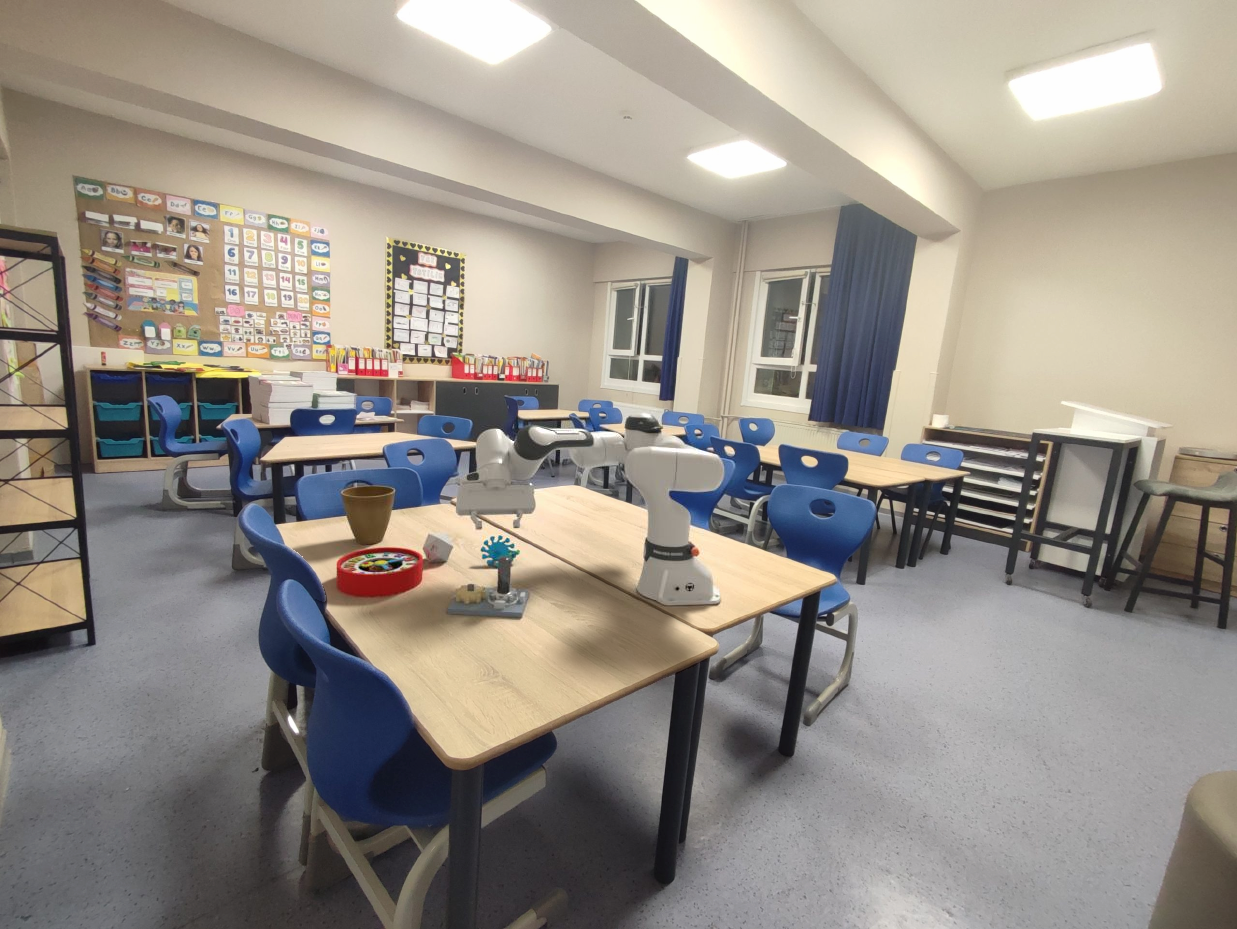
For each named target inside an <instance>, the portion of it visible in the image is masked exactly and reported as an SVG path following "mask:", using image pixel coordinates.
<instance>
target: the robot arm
mask: <svg viewBox="0 0 1237 929" xmlns="http://www.w3.org/2000/svg"><path fill="white" fill-rule="evenodd" d="M663 429H664V426H663V425H660V422H659V420H658V419H657V417H655V416H653V415H651V414H649V413H646V412H635V413H634V414H631V415H629V416H628V417H627V418H626V419H625V423H624V437H623V436H622V435H621V434H620V433H618V432H615V431H604V430H600V431H589V430H587V429H584V428H580V427H579V428H577V427H571V428H570V427H546V426H542V425H538V424H537V425H536V424H527V425H526V424H525V425H524V426H522V427H521V428H520V429H519V430H518V431H517V434H515V438H514V441H513V440H511V439H510V438H509V437H508V436H507V435H506V434H505V432H503V431H502V430H501V429H499V428H491V429H490V428H489V429H486V430H485V431H482V432H481V433H480V434H479V436H478V437H477V439H476V443H475V461H476V465H477V470H476V471H473V472H469V473H466V474H463V475H462V476H461V479H460V484H459V487H458V491H457V495H456V503H455V513H456V514H457V515H458V516H461V517H463V516H470V517H469V518H470V520H471V521H472V523H473V524H474V525H475V531H478V530H479V531H480V530H482V529H483V520H479V519H478V518H477V516H494V515H495V516H496V515H497V516H498V515H499V516H500V515H516V518H517V519H513V521H512V525H513V526H512V527H513V529H520V527H521V523H520V522H521V520H522V518H523V515H530V514H533V512H535V510H536V506H537V504H536V499H535V487H534V485H533V484H532V483H530V482H528V480H530V479H532V478H533V476H534V475H535V474H536V473H537V471H538V470H539V468H540V466H541V465H542V463H543V462H544V461H545V459H546V457H548V456H549V455H550V454H551V453H553V452H554V451H557V450H558V451H559V450H564V451H565V450H568V454H569V457H570V458H571V461H572V462H573V463H574V464H575V465H576V466H578V468H581V469H591V468H592V469H593V468H597V467H602V466H606V465H610V464H614V463H615V464H616V463H618V464H621V465H619V466H618V469H619V471H621V472H622V473H623V474H624V476H625V477H626V479H627V481H629V483H630V484H631V485H632V486H633V487H635V489H637V490H638V492H639V494H640V495H641V496H642V497H643V499H644V502H645V505H646V509H647V534H646V537H645V540H644V545H643V559H644V560H643V564H642V570H641V572H640V577H639V578H638V582H637V585H636V588H635V589H636V590H637V592H638V593H639V594H640V595H641V596H644V597H646V598H649V599H651V600H655V601H656V602H659V603H660V604H662V605H664V606H688V605H689V606H693V605H695V606H697V605H717V603H718V604H719V603H720V602H721V600H722V597H721V596H722V595H721V591H720V590H719V587H718V586H717V585H716V584H714V580H713V579H714V578H713V575H712V572H711V570H710V569H709V568H708V567H707V566H706V565H705V564H704V563H703V562H702V561H700V559H698V558H697V557H698V556H699V555H700V550H699V549H698V547H696V545H695V544H694V543H693V542H692V541H691V540H690V541H689V539H690V529H691V519H692V518H691V514H690V512H689V510H688V509H687V508H686V506H684V505H682V504H681V503H679V502H677V501H675V500H674V499H672V498H671V496H670V491H671V492H672V491H676V492H689V493H704V492H712V491H716V490H717V489H718V488H719V487H720V486H721V484H722V482H723V481H724V478H725V466H724V462H723V460H722V458H721V457H720V455H718V454H715V453H714V452H713V453H712V452H709V451H706V450H701V449H699V448H696V447H694V446H691V445H689V444H685V442H684V441H683V440H682V439H681V438H679V437H678V436H675V435H671V434H663V433H662V430H663ZM512 480H513V481H512ZM514 480H515V481H514Z"/></svg>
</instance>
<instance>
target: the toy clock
mask: <svg viewBox="0 0 1237 929" xmlns="http://www.w3.org/2000/svg"><path fill="white" fill-rule="evenodd" d="M422 581H423V556H422V554H421V553H419V552H418V551H416V550H413V549H409V548H404V547H397V546H396V547H394V546H392V547H391V546H390V547H389V546H383V547H372V548H366V549H365V548H364V549H360V550H359V549H358V550H357V551H352V552H350V553H347V554H345V555H343V556H341V557H340V558H338V560H337V561H336V588H337V589H338V591H340V592H341V593H343V594H344V595H348V596H352V597H358V598H383V597H389V596H395V595H399V594H402V593H406V592H409V591H411V590H413V589H416V587H417V586H419V585H420V584H421V582H422Z"/></svg>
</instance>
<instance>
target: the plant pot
mask: <svg viewBox="0 0 1237 929" xmlns="http://www.w3.org/2000/svg"><path fill="white" fill-rule="evenodd" d="M340 493H341V494H340V495H341V499H342V504H343V508H344V512H345V515H346V518H347V522H348V525H349V527H350V531H351V532H352V535H353V537H354V538H355V541H356V543H358V544H359V545H361V544H362V545H372V544H377V543H378V544H379V543H381V542H382V541H383V540H384V538H385V536H386V532H387V529H388V526H389V523H390V519H391V515H392V510H393V507H394V501H395V493H396V489H395V488H393V487H390V486H385V485H361V486H354V487H352V486H351V487H349V488H345V489H343V490H341V492H340Z"/></svg>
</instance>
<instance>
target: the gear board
mask: <svg viewBox="0 0 1237 929" xmlns="http://www.w3.org/2000/svg"><path fill="white" fill-rule="evenodd" d="M494 588H495V587H487V586H486V587H485V586H484V585H478V584H475V583H468V584H466V585H465V584H463V585H460V586H459V588H455V590H454V597H453V599H452V600H451V603H449V604H448V607H447V610H446V613H447V614H450V615H464V616H465V615H466V616H483V617H502V618H504V617H505V618H519V619H521V618H523V616H524V611H525V608H526V605H527V603H528V600H529V596H530V592H531V591H530V589H523V588H515V589H516V592H518V593H517V600H513V602H512V603H505V601H501V600H495V601H494V602H491V601H490V598H489V591H490V590H494ZM510 588H513V585H512V584H510Z"/></svg>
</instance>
